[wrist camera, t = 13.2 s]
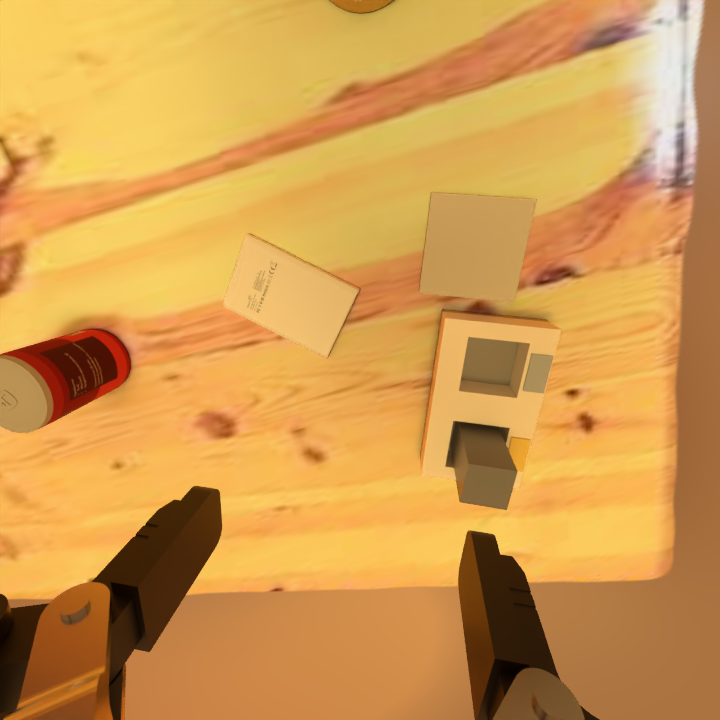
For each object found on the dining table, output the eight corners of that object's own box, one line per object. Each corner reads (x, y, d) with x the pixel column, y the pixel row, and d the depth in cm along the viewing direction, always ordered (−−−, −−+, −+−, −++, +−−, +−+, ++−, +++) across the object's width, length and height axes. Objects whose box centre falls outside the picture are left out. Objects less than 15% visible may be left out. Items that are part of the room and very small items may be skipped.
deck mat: (431, 193, 33) (431, 192, 33) (533, 199, 33) (536, 199, 32) (418, 291, 37) (418, 293, 36) (512, 300, 36) (514, 302, 35)
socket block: (442, 309, 37) (445, 318, 33) (546, 319, 36) (562, 330, 32) (420, 454, 43) (421, 477, 39) (509, 466, 41) (519, 491, 37)
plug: (456, 413, 39) (468, 463, 31) (495, 419, 39) (517, 471, 30) (450, 446, 41) (459, 501, 32) (487, 451, 40) (506, 510, 32)
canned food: (66, 367, 45) (-36, 406, 35) (83, 314, 43) (-22, 340, 32) (120, 400, 46) (36, 448, 36) (141, 349, 43) (55, 386, 33)
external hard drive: (329, 354, 41) (227, 304, 40) (361, 287, 38) (251, 233, 38) (326, 359, 39) (220, 307, 39) (358, 290, 36) (245, 233, 36)
